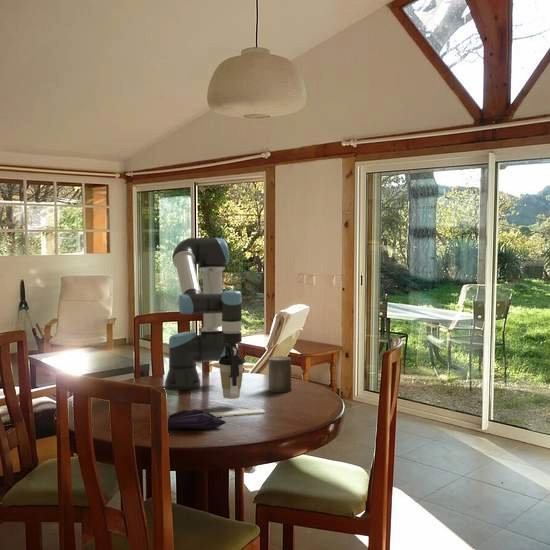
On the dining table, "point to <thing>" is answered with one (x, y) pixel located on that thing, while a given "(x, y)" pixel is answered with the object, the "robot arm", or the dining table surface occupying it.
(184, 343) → the robot arm
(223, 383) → the coffee cup
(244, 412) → the cream flat slat
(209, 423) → the crystal
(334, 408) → the dining table surface
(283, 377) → the pillar candle
